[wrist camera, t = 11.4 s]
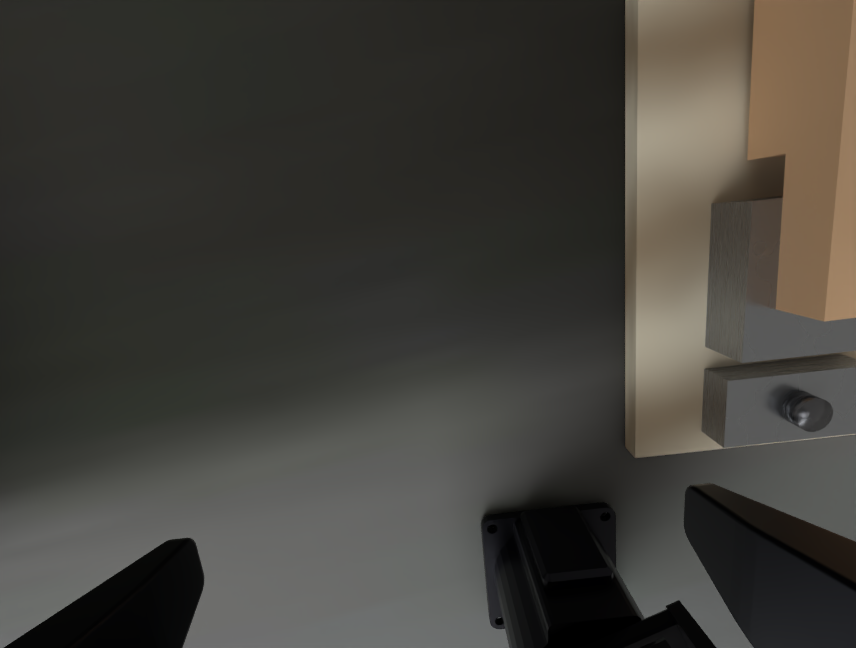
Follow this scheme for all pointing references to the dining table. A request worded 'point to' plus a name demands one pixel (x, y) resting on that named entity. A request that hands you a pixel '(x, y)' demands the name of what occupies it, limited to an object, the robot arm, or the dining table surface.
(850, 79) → the master link
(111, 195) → the dining table surface
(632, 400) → the board
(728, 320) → the lower chain end
